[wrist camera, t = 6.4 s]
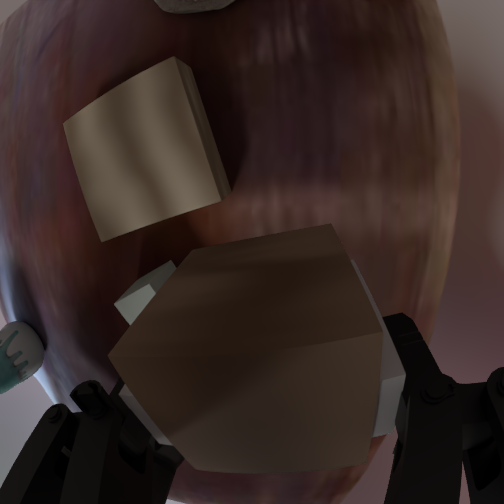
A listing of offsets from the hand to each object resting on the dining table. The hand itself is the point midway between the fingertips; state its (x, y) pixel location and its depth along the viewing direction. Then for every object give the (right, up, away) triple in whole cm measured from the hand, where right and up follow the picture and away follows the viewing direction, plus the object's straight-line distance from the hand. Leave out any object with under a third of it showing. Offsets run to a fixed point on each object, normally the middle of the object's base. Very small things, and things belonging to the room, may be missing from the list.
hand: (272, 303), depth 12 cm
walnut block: (0, 0, 0) cm, 0 cm away
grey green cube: (-11, -2, +21) cm, 24 cm away
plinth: (-12, +13, +15) cm, 23 cm away
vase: (-48, -16, +31) cm, 59 cm away
